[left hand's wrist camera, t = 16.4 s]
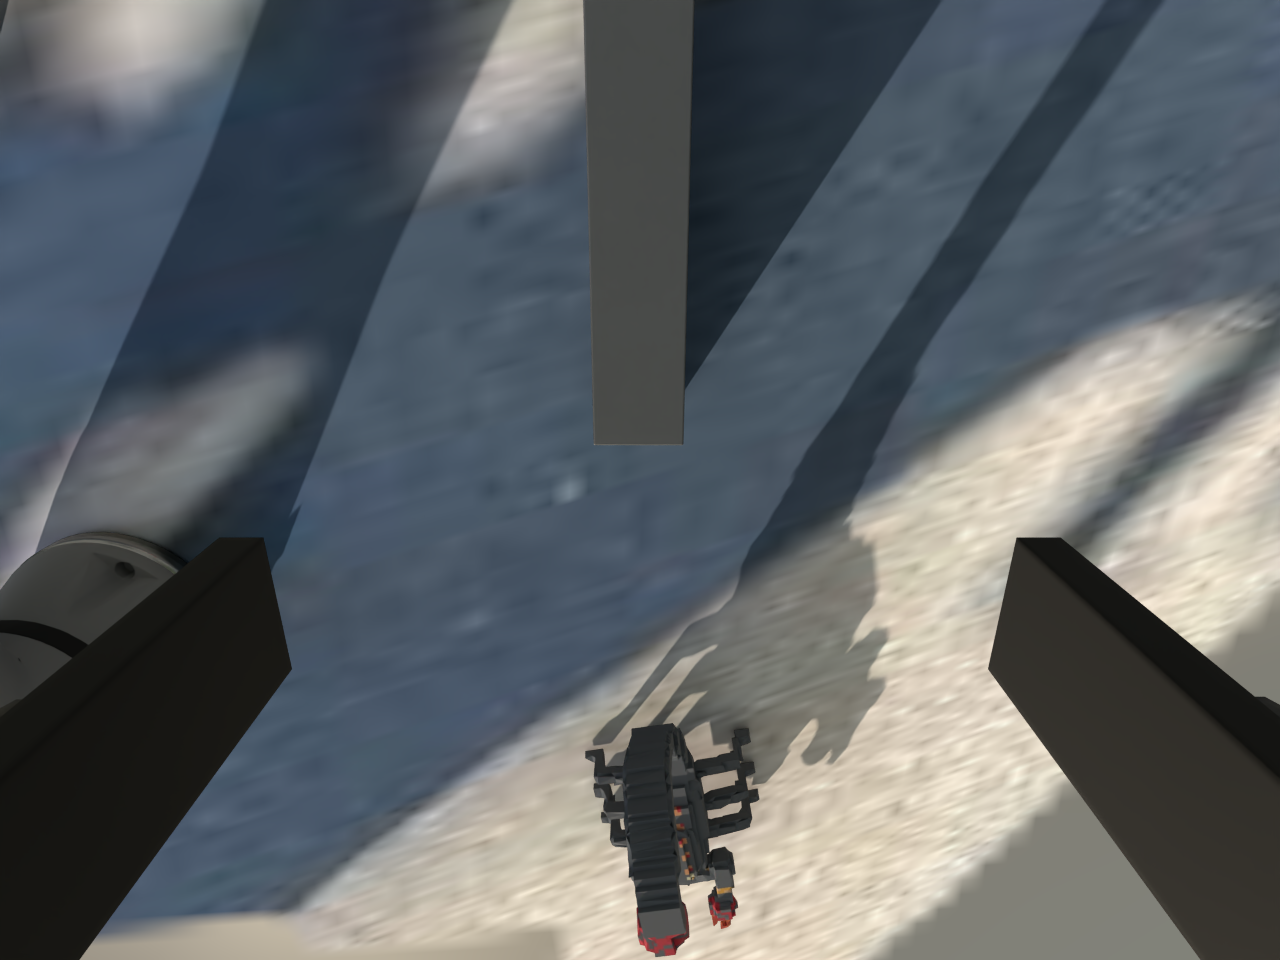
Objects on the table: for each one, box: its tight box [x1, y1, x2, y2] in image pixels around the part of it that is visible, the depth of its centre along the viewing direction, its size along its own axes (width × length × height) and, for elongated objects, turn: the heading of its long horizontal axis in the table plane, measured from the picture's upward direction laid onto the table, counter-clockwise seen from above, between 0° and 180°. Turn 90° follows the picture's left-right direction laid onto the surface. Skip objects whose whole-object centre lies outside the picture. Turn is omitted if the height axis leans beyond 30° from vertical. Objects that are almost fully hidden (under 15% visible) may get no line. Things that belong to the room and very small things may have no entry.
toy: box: [585, 723, 759, 957], centre depth 51 cm, size 13×27×18 cm, turn 10°
